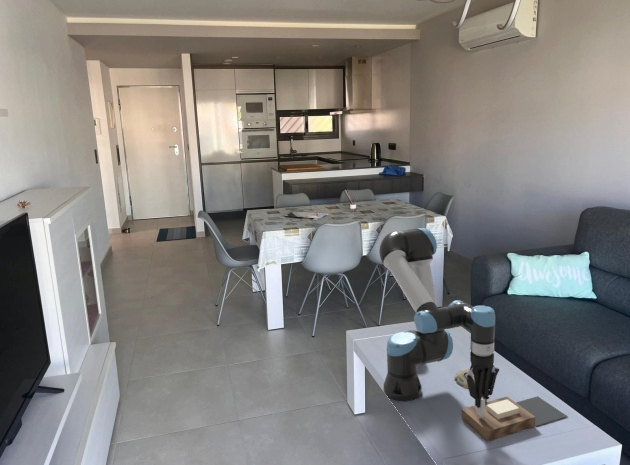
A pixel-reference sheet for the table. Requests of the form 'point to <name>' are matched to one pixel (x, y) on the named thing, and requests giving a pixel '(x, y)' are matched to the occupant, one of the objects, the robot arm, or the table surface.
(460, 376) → the decorative bowl
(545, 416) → the mat
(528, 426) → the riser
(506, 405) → the tile
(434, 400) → the table surface
